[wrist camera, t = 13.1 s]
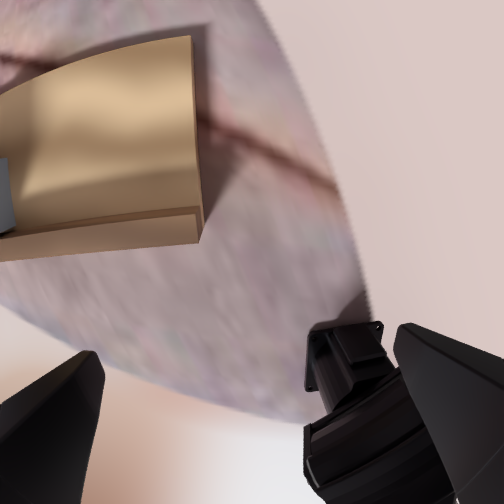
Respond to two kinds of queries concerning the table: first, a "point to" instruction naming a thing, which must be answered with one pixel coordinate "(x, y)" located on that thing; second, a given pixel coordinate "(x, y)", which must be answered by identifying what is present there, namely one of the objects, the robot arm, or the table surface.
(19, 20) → the table surface
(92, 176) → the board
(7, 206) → the block
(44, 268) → the table surface
